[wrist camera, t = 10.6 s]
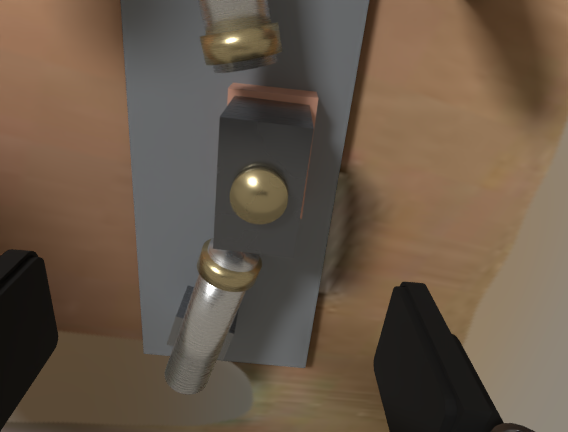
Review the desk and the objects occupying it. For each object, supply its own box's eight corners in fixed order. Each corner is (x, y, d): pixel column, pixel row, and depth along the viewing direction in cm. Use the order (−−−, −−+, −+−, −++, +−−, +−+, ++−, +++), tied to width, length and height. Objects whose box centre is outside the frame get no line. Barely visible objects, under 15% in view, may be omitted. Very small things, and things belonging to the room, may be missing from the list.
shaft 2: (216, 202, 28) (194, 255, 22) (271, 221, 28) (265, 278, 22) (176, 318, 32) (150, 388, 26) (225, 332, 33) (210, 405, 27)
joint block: (227, 205, 25) (210, 255, 20) (234, 95, 22) (217, 120, 17) (293, 213, 25) (293, 264, 20) (309, 105, 22) (314, 132, 17)
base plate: (147, 344, 34) (135, 373, 31) (110, -283, 18) (77, -337, 15) (304, 358, 34) (305, 388, 31) (408, -243, 18) (428, -287, 15)
